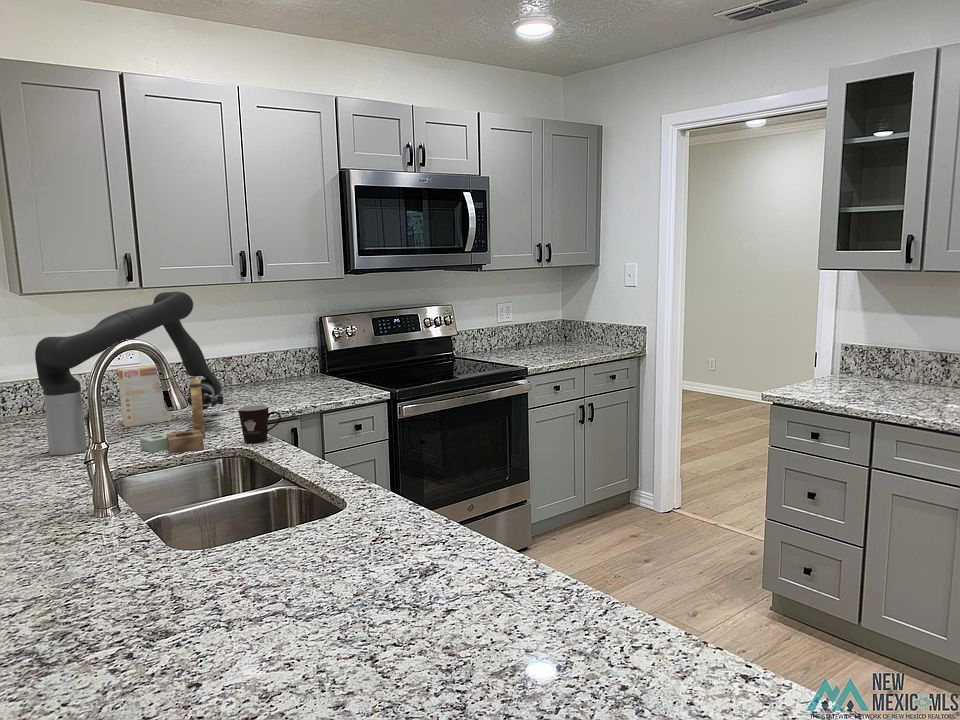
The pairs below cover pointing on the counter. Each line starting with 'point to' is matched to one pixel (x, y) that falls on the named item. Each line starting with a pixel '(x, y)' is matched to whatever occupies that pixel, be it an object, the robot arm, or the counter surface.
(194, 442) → the slotted wooden block
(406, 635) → the counter surface
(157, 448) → the bead
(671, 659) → the counter surface
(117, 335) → the robot arm
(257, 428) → the coffee mug
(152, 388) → the coffeecake box
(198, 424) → the tan wooden bar
